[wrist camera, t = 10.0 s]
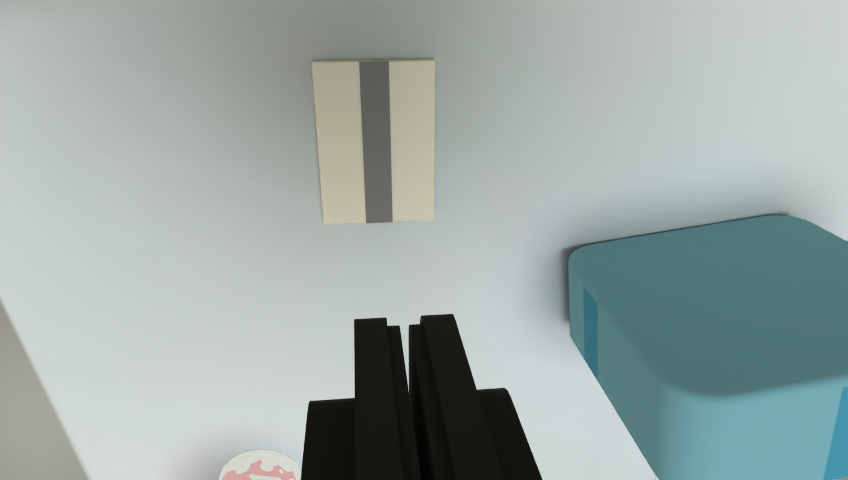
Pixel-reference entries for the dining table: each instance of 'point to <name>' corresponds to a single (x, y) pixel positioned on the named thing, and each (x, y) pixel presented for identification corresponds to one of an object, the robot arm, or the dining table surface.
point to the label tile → (375, 139)
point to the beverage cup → (261, 467)
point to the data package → (722, 346)
